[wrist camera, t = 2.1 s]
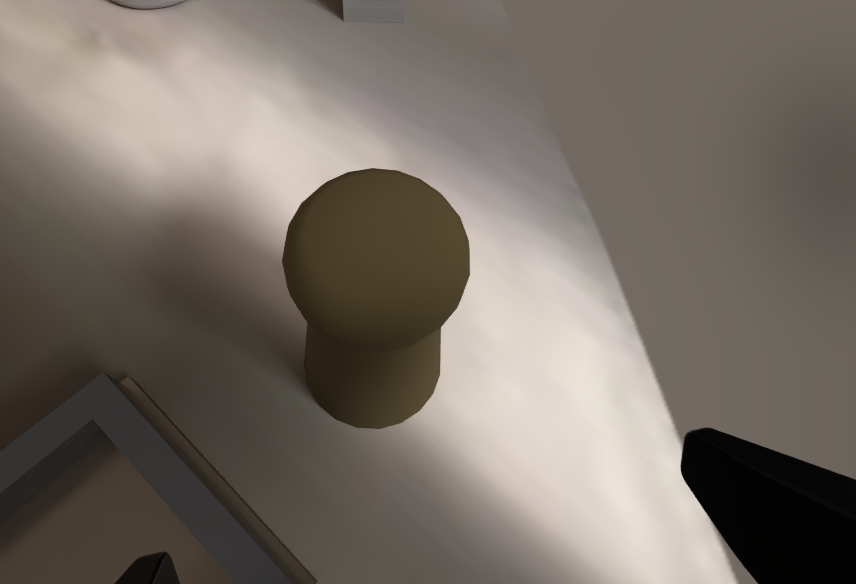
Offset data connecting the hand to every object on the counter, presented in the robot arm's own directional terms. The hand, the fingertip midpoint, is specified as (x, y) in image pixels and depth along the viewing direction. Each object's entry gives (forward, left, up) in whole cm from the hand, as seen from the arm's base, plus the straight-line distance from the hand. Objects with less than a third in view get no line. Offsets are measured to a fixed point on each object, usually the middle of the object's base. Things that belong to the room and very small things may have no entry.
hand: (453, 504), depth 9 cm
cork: (+5, -4, -13) cm, 15 cm away
